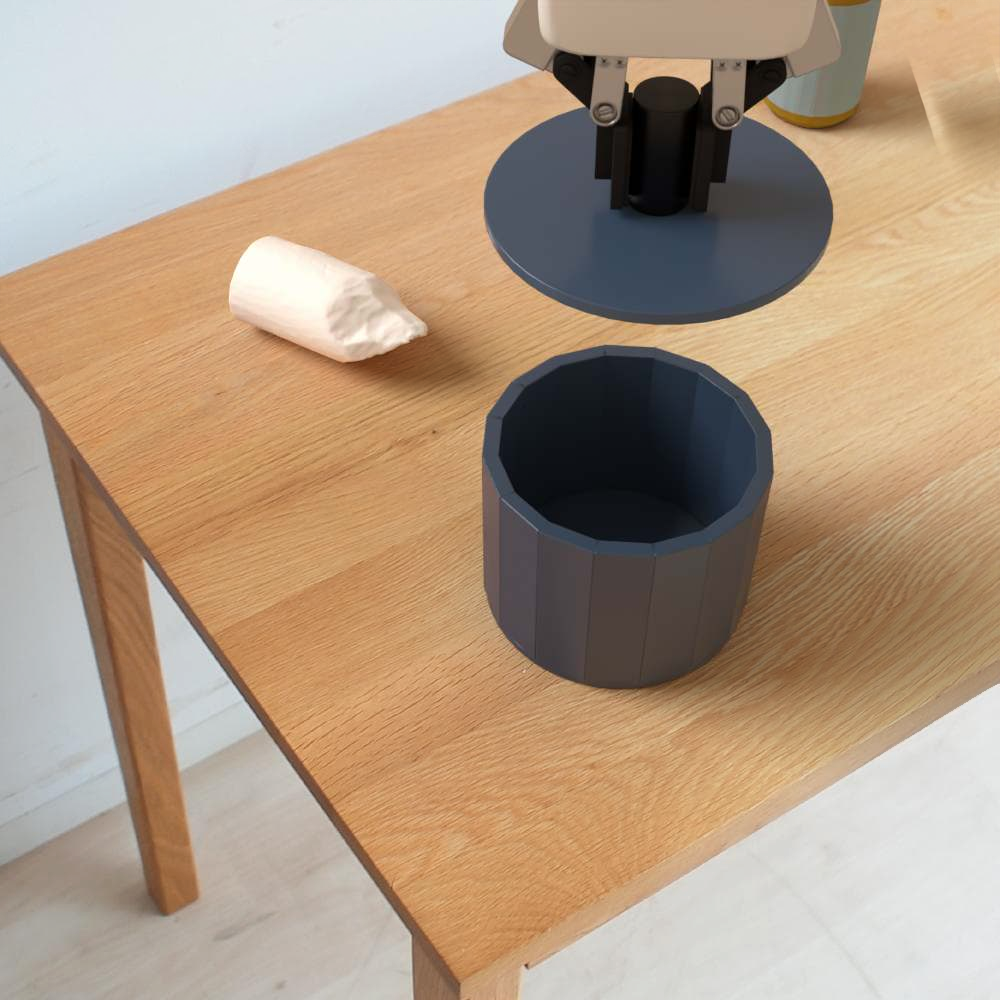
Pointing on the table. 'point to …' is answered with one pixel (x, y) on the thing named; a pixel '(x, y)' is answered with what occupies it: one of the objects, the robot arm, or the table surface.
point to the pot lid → (657, 216)
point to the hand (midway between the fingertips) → (658, 187)
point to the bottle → (832, 72)
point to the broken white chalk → (319, 301)
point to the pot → (622, 513)
